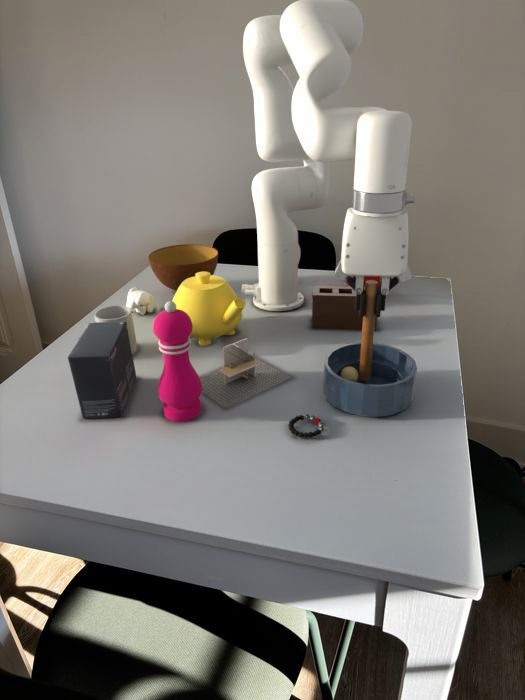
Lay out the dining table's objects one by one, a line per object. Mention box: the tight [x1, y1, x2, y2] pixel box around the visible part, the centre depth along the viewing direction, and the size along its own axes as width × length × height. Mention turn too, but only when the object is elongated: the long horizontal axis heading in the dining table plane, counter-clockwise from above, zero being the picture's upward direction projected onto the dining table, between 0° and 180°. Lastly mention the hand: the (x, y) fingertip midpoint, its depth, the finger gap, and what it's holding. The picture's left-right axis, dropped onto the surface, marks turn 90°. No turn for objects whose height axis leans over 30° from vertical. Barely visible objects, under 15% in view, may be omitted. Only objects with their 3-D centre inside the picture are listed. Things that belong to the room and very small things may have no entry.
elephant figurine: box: [125, 286, 156, 316], centre depth 124 cm, size 7×8×6 cm
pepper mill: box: [152, 300, 203, 423], centre depth 83 cm, size 7×7×20 cm
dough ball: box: [340, 367, 359, 382], centre depth 92 cm, size 3×3×3 cm
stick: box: [359, 280, 378, 381], centre depth 88 cm, size 2×2×18 cm
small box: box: [67, 321, 137, 419], centre depth 90 cm, size 13×7×12 cm, turn 1°
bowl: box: [148, 243, 219, 293], centre depth 136 cm, size 18×18×10 cm
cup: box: [85, 304, 138, 356], centre depth 105 cm, size 7×10×9 cm
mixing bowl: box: [323, 342, 418, 418], centre depth 89 cm, size 15×15×6 cm
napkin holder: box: [218, 337, 260, 384], centre depth 94 cm, size 3×7×7 cm, turn 129°
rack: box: [311, 285, 378, 332], centre depth 115 cm, size 6×14×8 cm, turn 82°
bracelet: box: [287, 413, 325, 439], centre depth 82 cm, size 6×6×1 cm
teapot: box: [172, 271, 246, 346], centre depth 110 cm, size 20×16×14 cm
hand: (369, 313), depth 87 cm, fingers closed on stick, 2 cm apart
